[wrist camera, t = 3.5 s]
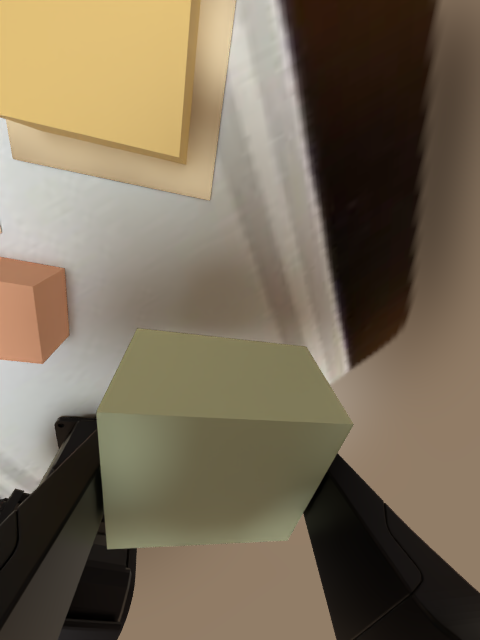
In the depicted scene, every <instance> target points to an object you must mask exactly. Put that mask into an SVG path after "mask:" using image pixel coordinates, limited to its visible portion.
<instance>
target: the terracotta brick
mask: <svg viewBox="0 0 480 640" xmlns="http://www.w3.org/2000/svg"><path fill="white" fill-rule="evenodd" d="M68 336H69V323H68V309H67V295H66V281H65V268H60V267H54V266H49V265H43V264H37V263H32V262H26V261H20V260H15V259H9V258H4V257H0V359H1V360H11V361H20V362H30V363H39V364H43V363H44V362H45V361H46V360H47V359H48V358H49V357H50V356H51V355H52V353H53V352H54V351H55V350H56V349H57V348H58V347H59V346H60V345H61V344H62V343H63V342H64V340H65V339H66V338H67V337H68Z"/></svg>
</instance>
